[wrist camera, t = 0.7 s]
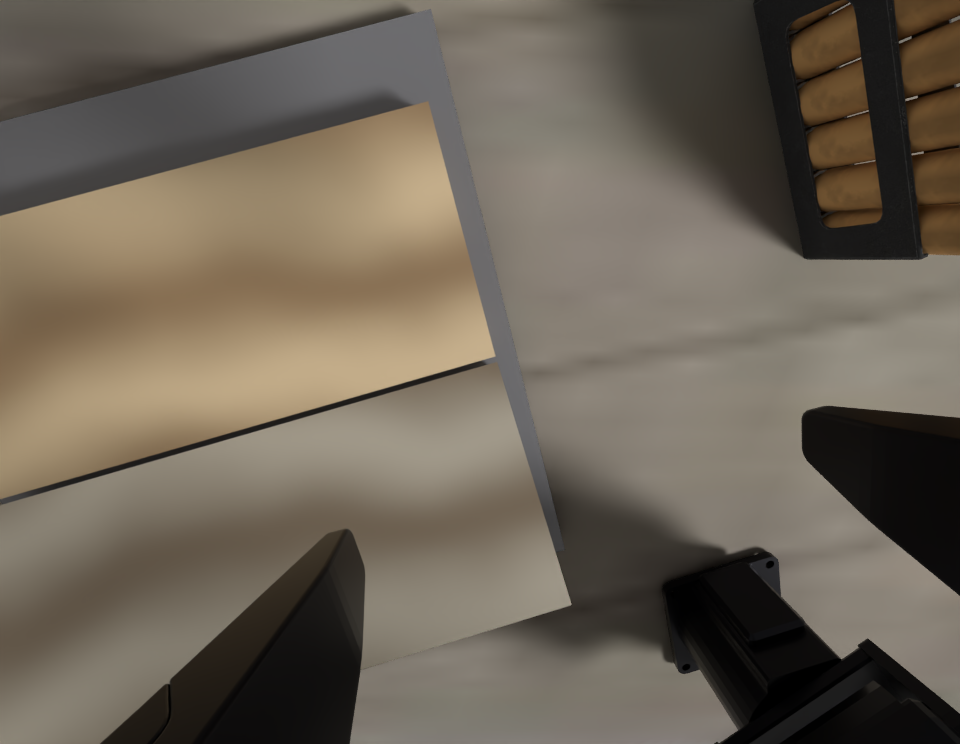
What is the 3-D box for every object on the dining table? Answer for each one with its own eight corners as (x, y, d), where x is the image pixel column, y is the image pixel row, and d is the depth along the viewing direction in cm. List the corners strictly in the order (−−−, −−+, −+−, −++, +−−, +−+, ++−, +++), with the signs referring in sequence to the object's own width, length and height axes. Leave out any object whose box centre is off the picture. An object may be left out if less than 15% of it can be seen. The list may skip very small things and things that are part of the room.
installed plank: (490, 347, 19) (495, 356, 18) (16, 483, 18) (-18, 504, 17) (428, 113, 16) (428, 101, 15) (-132, 263, 16) (-188, 266, 14)
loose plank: (565, 593, 17) (571, 605, 16) (39, 755, 16) (-5, 782, 15) (496, 370, 19) (497, 361, 18) (24, 507, 18) (-17, 510, 17)
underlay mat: (559, 537, 23) (564, 549, 22) (139, 664, 23) (126, 682, 22) (430, 22, 16) (430, 8, 15) (-184, 183, 16) (-224, 180, 15)
